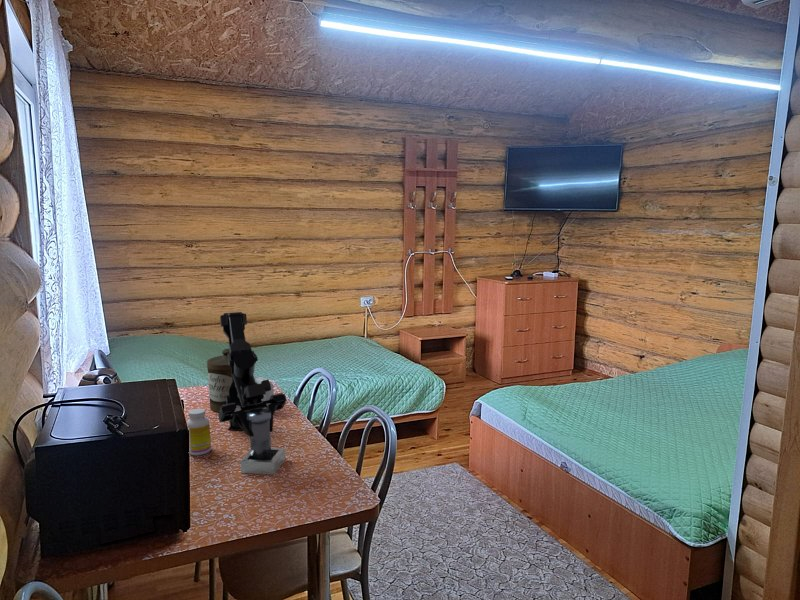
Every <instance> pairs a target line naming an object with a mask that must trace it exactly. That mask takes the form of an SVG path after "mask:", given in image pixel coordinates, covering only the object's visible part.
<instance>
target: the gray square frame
mask: <svg viewBox="0 0 800 600" xmlns="http://www.w3.org/2000/svg"><path fill="white" fill-rule="evenodd" d="M271 456H272V460H251V449H250V450H249V451H248V452H247V453H246V454H245V455H244V457H243V458H242V459H241V460H240V474H256V475H276V473H277V472H278V470H279V469H280V468H281V466H282V465H283V463H284V462H285V461H286V448H285V447H271ZM284 460H285V461H284Z"/></svg>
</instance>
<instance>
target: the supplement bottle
mask: <svg viewBox="0 0 800 600" xmlns="http://www.w3.org/2000/svg"><path fill="white" fill-rule="evenodd" d="M205 415H206V409H204V408H194V409H190V410H189V411H188V417H189V418H188V420H187V421H186V422H187V425H188V428H189V440H190V454H189V455H192V456H202V455H206V454H208V453H210V451H211V450H212V441H211V440H212V439H211V427H210V425H211V424H210V420H209V418H208V417H206V416H205Z"/></svg>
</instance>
